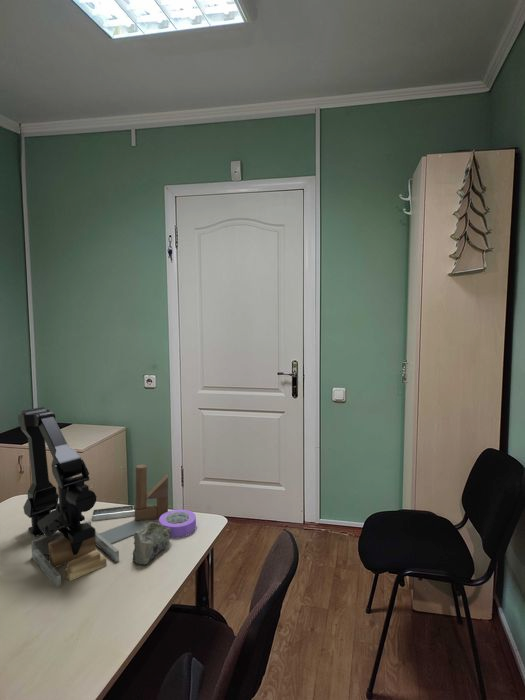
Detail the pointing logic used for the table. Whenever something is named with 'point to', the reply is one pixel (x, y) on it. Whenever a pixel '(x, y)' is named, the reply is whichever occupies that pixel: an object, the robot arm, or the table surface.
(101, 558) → the offcut stack
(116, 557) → the frame
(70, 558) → the walnut panel
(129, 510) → the multiport hub
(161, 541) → the mineral rock
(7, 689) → the table surface
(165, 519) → the masking tape
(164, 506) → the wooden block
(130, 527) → the rubber mat
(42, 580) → the table surface
